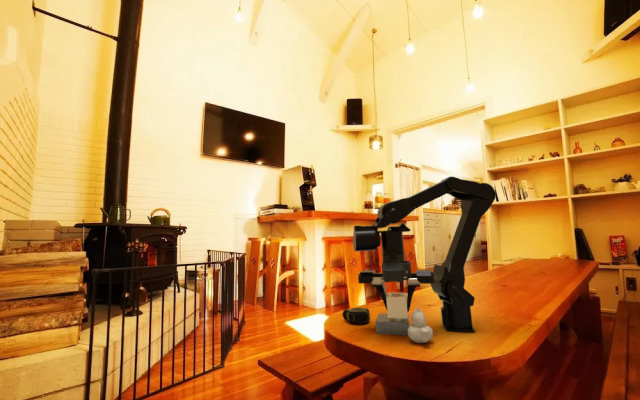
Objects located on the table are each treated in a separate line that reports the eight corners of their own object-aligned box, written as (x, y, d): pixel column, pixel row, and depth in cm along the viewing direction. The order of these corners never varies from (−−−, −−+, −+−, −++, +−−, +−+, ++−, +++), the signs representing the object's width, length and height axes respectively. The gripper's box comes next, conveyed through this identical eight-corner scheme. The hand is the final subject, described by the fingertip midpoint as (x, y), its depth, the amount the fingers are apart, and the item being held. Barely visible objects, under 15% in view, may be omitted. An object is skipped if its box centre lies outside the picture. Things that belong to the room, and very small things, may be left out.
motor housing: (409, 325, 76) (407, 298, 77) (409, 335, 69) (406, 305, 70) (379, 324, 79) (377, 298, 80) (376, 333, 71) (374, 304, 72)
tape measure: (362, 318, 86) (361, 305, 87) (375, 323, 80) (374, 309, 81) (342, 321, 84) (341, 308, 84) (353, 327, 77) (353, 313, 78)
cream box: (389, 311, 76) (387, 291, 77) (408, 312, 75) (406, 291, 75) (387, 317, 71) (386, 295, 72) (407, 318, 69) (405, 295, 70)
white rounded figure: (426, 337, 67) (422, 302, 68) (440, 347, 61) (436, 308, 62) (404, 339, 67) (401, 303, 68) (416, 349, 60) (412, 310, 61)
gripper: (352, 252, 70) (356, 318, 68) (432, 250, 65) (439, 321, 63) (360, 250, 81) (363, 307, 79) (429, 247, 75) (435, 308, 73)
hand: (397, 310), depth 73 cm, fingers closed on cream box, 5 cm apart
